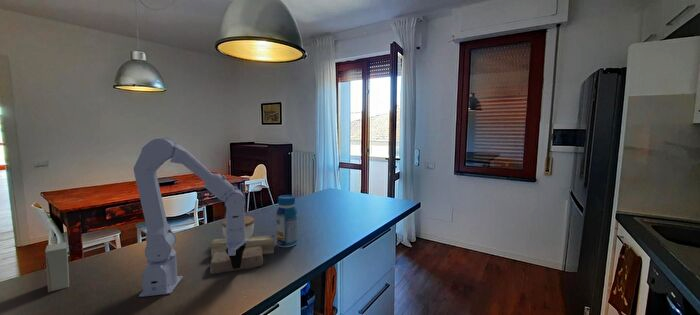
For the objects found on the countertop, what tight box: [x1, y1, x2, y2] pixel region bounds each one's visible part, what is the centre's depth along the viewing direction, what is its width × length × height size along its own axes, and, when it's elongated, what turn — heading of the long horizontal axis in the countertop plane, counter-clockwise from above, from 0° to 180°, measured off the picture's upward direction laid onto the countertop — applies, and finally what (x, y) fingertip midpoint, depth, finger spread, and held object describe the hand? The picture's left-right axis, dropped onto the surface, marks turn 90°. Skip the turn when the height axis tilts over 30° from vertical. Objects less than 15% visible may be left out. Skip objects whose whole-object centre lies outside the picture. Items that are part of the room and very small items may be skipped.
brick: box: [209, 246, 264, 275], centre depth 97 cm, size 17×8×5 cm, turn 110°
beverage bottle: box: [275, 194, 298, 248], centre depth 114 cm, size 8×8×20 cm
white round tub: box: [221, 215, 255, 239], centre depth 117 cm, size 13×13×11 cm
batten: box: [210, 235, 275, 259], centre depth 106 cm, size 4×22×6 cm, turn 102°
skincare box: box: [45, 241, 70, 293], centre depth 82 cm, size 6×4×12 cm
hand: (236, 267), depth 91 cm, fingers closed
